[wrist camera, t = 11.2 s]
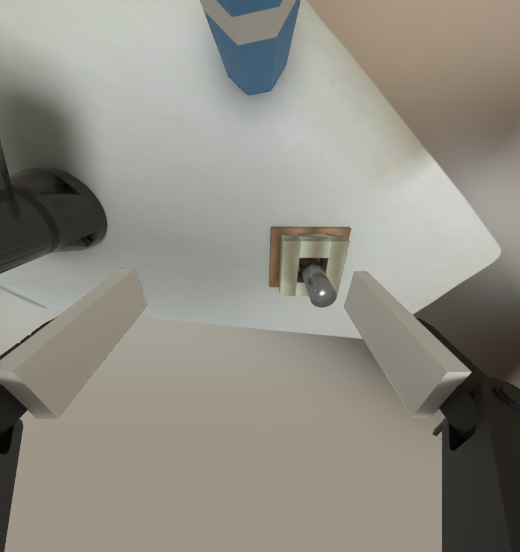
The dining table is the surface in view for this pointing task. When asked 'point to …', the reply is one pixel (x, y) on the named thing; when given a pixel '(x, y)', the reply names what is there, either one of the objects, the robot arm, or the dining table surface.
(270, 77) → the water bottle
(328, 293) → the peg
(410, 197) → the dining table surface
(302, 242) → the socket
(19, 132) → the dining table surface
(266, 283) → the dining table surface
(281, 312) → the dining table surface
